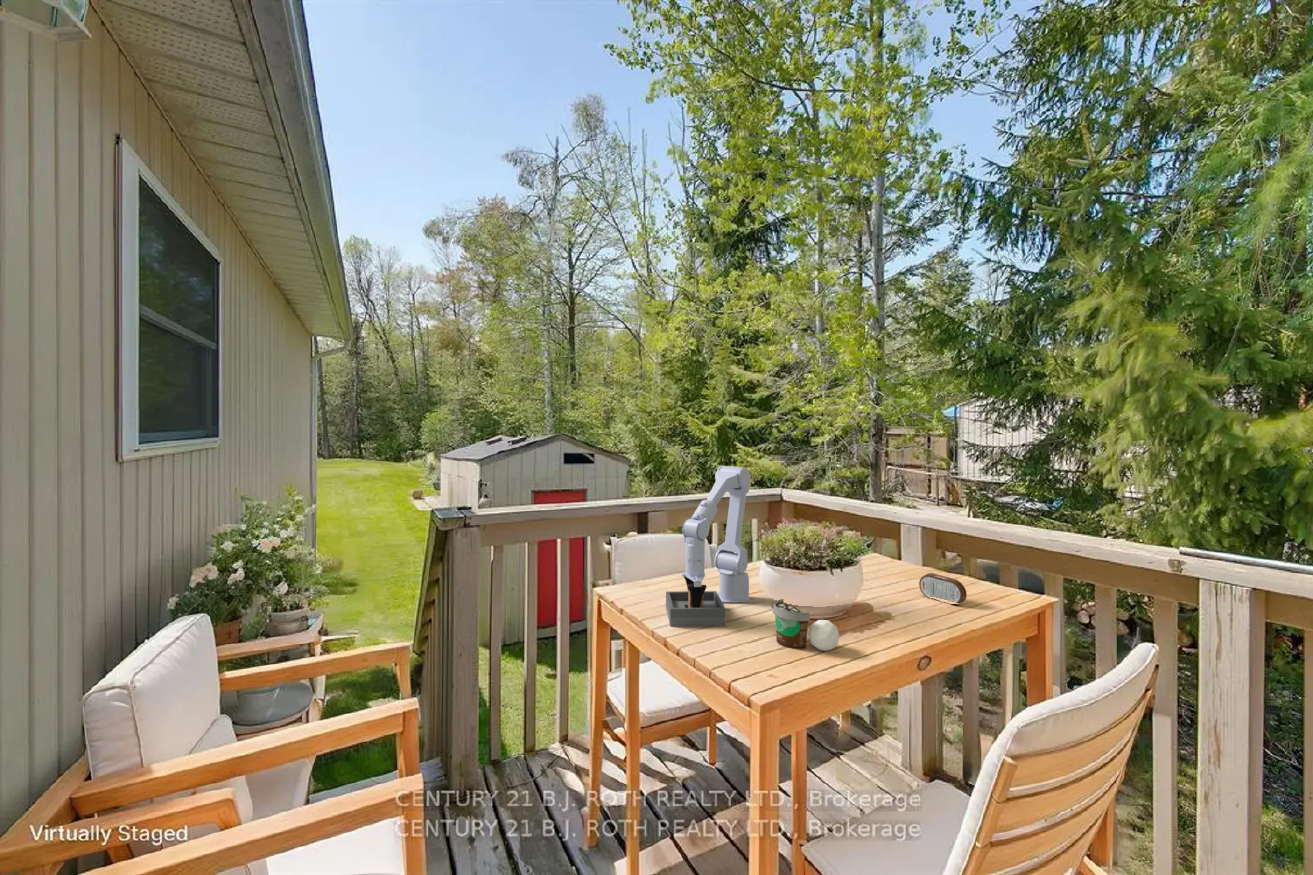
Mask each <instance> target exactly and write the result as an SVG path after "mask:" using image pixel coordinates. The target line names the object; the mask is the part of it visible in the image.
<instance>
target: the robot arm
mask: <svg viewBox="0 0 1313 875" xmlns="http://www.w3.org/2000/svg"><path fill="white" fill-rule="evenodd" d="M714 475H715V482H714V483H713V486H712V488H711V489H710V493H709V494H708V496H707V498H706V499H704V500H703V499H702V501H701V502H700V503H699V504H698V505H697V506H698V507H697V508H696V509H695V510H694V513H693V514H692V516H691V518H688V519H686V520H685V521H684V522H683V525H682V527H681V533H682V536H683V541H684V543H685V572H681V577H683V578H684V581H685V583H686V587H687V590H688V589H689V591H690V595H691V602H692V607H693V608H700V605H701V600H702V596H703V593H704V591H707V590H706V589H707V584H702V581H703V580H704V578H705V576H706V573H705V563H706V562H705V556H706V555H705V552H706V549H705V546H706V539H707V537H708V536H709V533H710V528H711V522H712V520H713V519H714V518H715V515H716V514H717V513H718V507H717V506H718V503H720V501H721V500H722V499H723V497H724V496H725V494H726V493H727V492H728V494H729V495H730V496H729V504H728V514H727V519H726V520H727V522H726V527H725V538H724V542H723V543H721V544H720V545H718V546H717V550H716V554H715V556H714V566H715V568H716V569H717V572H718V573H719V593H717V594H718V595H719V597H720V599H721V601H722V603H723V604H727V603H728V604H729V603H749V602H750V599H749V598H750V578H749V574H748V572H747V571H746V570H747V569H748V564H749V562H748V550H747V549H746V548H745V547H744V546H743V545H742V543H741V542H742V541H741V540H742V532H743V524H744V518H745V516H744V515H745V508H746V500H747V499H746V498H747V493H749V492H750V487H751V484H750V483H751V477H752V475H751V473H750V471H749V469H748V468H747V467H745V466H743V467H742V466H741V467H740V466H731V465H729V466H728V465H719V466H718V468H717V470H716V472H715V474H714Z"/></svg>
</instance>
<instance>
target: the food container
mask: <svg viewBox="0 0 1313 875" xmlns="http://www.w3.org/2000/svg"><path fill="white" fill-rule="evenodd" d="M772 614H774V619H775V620H774V621H775V635H776V642H777V644H778V645H780V646H782V647H784V648H789V649H793V650H794V649H795V650H796V649H797V650H801V649H806V648H807V640H808V639H807V637H808V631H809V630H808V629H809V621H811V616H810V615H811V614H810V612H809V611H807V612H804V611H801V610H800V609H798V608H797V607H795V606H792V605H790V604H787V603H786V602H784V598H780V599H778V600H775V602H774V604H773V607H772Z"/></svg>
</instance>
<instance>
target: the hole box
mask: <svg viewBox="0 0 1313 875" xmlns="http://www.w3.org/2000/svg"><path fill="white" fill-rule="evenodd" d="M718 594H719V593H718V592H717V591H716V590H705V591H704V593H703V608H688V590H687V591H686V590H683V591H681V590H680V591H677V590H675V591H665V609H666V614H667V618H668V623H669V626H670V627H711V626H713V627H717V626H718V627H720V626H721V627H722V626H723V627H724V626H726V606H725V605H724V603H722V601H721V599H720V597H719V595H718Z"/></svg>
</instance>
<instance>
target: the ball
mask: <svg viewBox="0 0 1313 875" xmlns="http://www.w3.org/2000/svg"><path fill="white" fill-rule="evenodd" d="M807 636H808V638H809V640H810V642H809V643H810V644H811V645H813V647H815V648H816V649H817V650H819V651H825V652H826V651H827V652H828V651H830V650H833V649H834V648H835V647H837V646H838V643H839V641H840V633H839V630H838V628H837V626H836V625H835V624H834V623H833V622H832V621H830V620H828V619H827V620H826V619H817V620H816V621H815V622H813V623H811V624H810V628H809V630H808V632H807Z"/></svg>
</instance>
